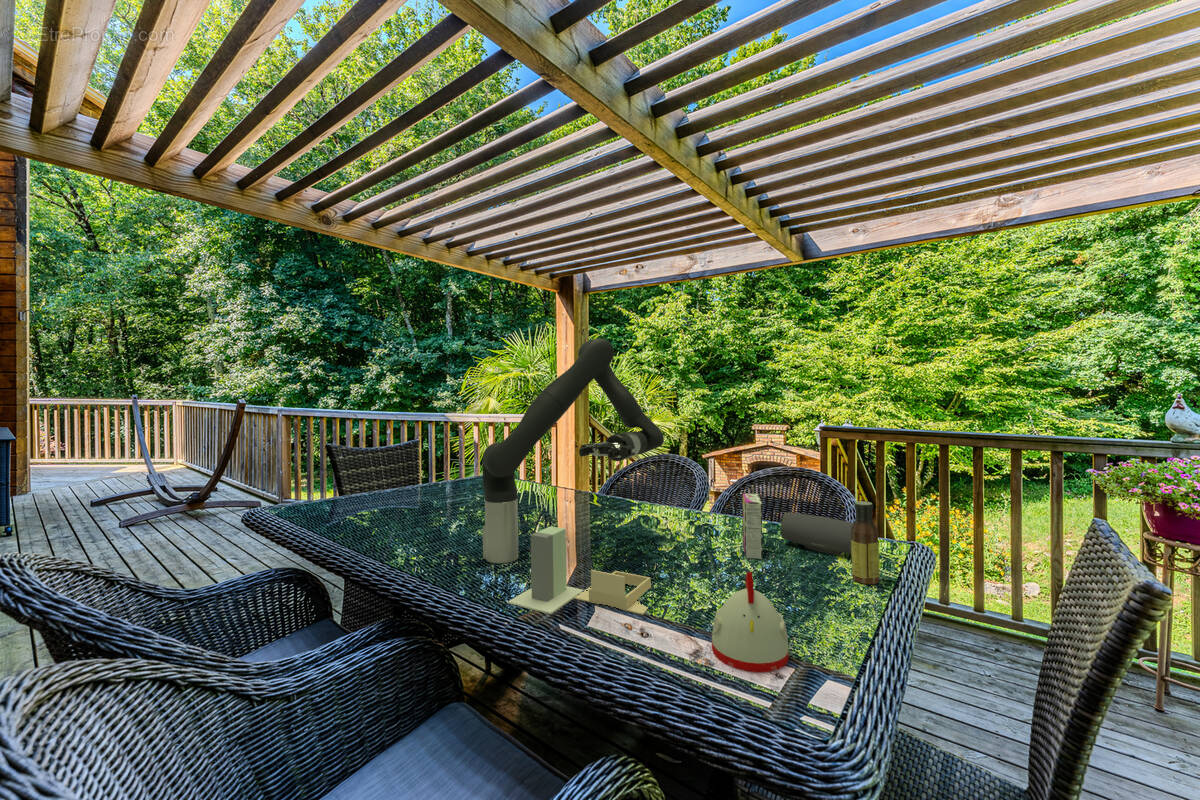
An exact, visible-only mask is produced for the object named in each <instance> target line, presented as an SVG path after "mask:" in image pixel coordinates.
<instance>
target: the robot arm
mask: <svg viewBox="0 0 1200 800" xmlns="http://www.w3.org/2000/svg"><path fill="white" fill-rule="evenodd" d="M614 350H615V349H614V346H613V345H612V343H611V342H610V341H609V340H608V339H605V338H593V339H590V340H588V341H585V342H584V343H583V344H581V345H580V347H579V349H578V351H577V355H578V358H577V359H576V360H575V361H574V363H573V364H572V365H571V366H570V367H569V368H568V369H567V370H566V371H564V372H563V373H562V374H561V375H559V376H557V378H555V379H554V380H553V381H551V382H550V383H549V384H547V386H545V388H543V390H542V391H540V393H539V394H538V395H537V396H536V397H535V398H534V399H533V401H532V402H531V403H530V404H529V406H528V407H527V409H526V410H525V413H524V415H523V416H522V418H521V419H520V422H519V423H518V425H517V426H516V427H515V428H514V430H513V431H512V432H511V433H510V434H509V435H508V436H507V437H506V438H504V440H503V441H502V442H498V441H497V442H493V443H490V444H489V445H488V446H487V447H486V448H485V449H484V451H483V455H482V458H481V459H482V460H481V461H482V462H481V463H482V467H481V468H482V482H483V483H482V486H483V487H482V488H483V491H484V492H483V493H484V518H485V519H484V520H485V521H484V522H485V523H484V525H483V526H482V556H483V558H482V559H484V560H485V561H487V562H488V563H491V564H507V563H511V562H514V561H516V560H518V558H519V517H518V516H519V513H518V512H519V511H518V510H519V509H518V506H519V505H518V488H517V484H516V479H515V475H516V474H515V472H516V471H517V470H518V468H519V467H520V465H522V463H523V461H524V460H525V459H526V458H527V455H528V454H529V453H530V452H531V450H532V449H533V448H534V447H535V445H537V443H538V442H539V441H540V440H541V439H542V438H543V437H544V436H545V435H546V434H547V433H548V432H549V431H550V429H552V428H553V426H555V424H557V422H558V421H559V420H560V419H561V418H562V417H563V416H564V415H565V413H567V411H568V410H569V408H570V407H571V406H572V405H573V404H574V403H575V402H576V400H577V399H578V398H579V397H580V395H581V394H582V392H584V390H585V388H587V387H588V385H589V384H590V383H591V382H592V381H593V380H594V381H595V382H596V383H597V384H598V385H599V387H600V388H601V390H602V391H603V392H604V394H605V396H606V397H607V399H608V400H609V402H610V403H611V405H612V407H613V408H614V410H615V411H616V413H617V415H618V416H619V418H620V419H621V422H622V423H623V425H624V426H625V427H626V428H627V429H633V428H639V429H640V430H639V431H637V430H636V431H629V432H621V433H615V434H611V435H610V436H608V438H606V440H605V441H602V442H598V443H597V442H592V443H586V444H582V445H581V446H580V448H579V449H578V453H579V454H578V455H579V457H587V456H594V457H602V456H603V457H607V459H610V460H611V461H613V462H620V461H623V460H627V459H630V458H633V457H635V456H637V455H638V456H639V455H643V454H646V453H648V452H651V451H653V450H655V449H657V448H660V447H661V446H663V445H664V443H665V441H664V440H665V439H664V438H665V437H664V433H663V431H662V430H661V428H660V427H658V425H656V423H654V422H653V420H651V419H650V418H649V417H648V416H647V415H646V413H644V411H643V409H642V407H641V406H640V405H639V403H638V401H637V399H636V398H635V397H634V396H633V394H632V393H631V391H630V390H629V389H628V388H627V387H626V386H625V385H624V383H623V382H621V381H620V379H619V378H618V377H617V375H616V374H615V372H614V371H613V369H612V367H611V365H610V364H611V363H612V361H613V359H614V356H615V351H614ZM598 452H599V453H598Z"/></svg>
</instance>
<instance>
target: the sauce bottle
mask: <svg viewBox="0 0 1200 800" xmlns="http://www.w3.org/2000/svg"><path fill="white" fill-rule="evenodd" d="M873 509H874V506H873V503H872V502H870V501H863V500H860V501H855V502H854V510H855V520H854V522H853V523H854V524H853V525H852V527H851V554H850V555H851V573H852V579H853V580H854V581H856V582H857V583H860V584H864V585H877V584H879V582H880V575H881V574H880V547H879V545H880V543H879V533H878V532H879V530H878V527H877V526H876V524H875V522H874V520H873Z"/></svg>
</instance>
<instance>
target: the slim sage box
mask: <svg viewBox="0 0 1200 800" xmlns="http://www.w3.org/2000/svg"><path fill="white" fill-rule="evenodd" d="M530 573H531V574H530V575H531V578H530V579H531V581H530V582H531V583H530V584H531V588H532V598H533V599H537V600H541V601H545V602H548V601H550V600H551V599H553V598H555V597H556V596H558V595H559V594H561V593H562V592H564V591H565V590H567V586H568V585H567V530H566V528H564V527H559V526H557V527H556V526H552V525H550V526H547V527H546V528H543V529H541V530H538V531H537V532H535V533H532V534H530Z"/></svg>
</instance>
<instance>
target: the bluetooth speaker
mask: <svg viewBox="0 0 1200 800" xmlns="http://www.w3.org/2000/svg"><path fill="white" fill-rule="evenodd" d="M853 524H854V522H852V521H846V520H841V519H836V518H831V517H826V516H819V515H813V514H806V513H805V514H804V513H798V512H785V513H784V514H783V516H782V520H781V525H780V528H779V530H780V536H781V537H782V539H783V540H786V541H789V542H791V543H796V544H799V545H803V546H804V549H807V550H811V551H814V552H820V553H824V554H828V555H836V556H841V555H842V554H848V555H851V527H852V525H853Z"/></svg>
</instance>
